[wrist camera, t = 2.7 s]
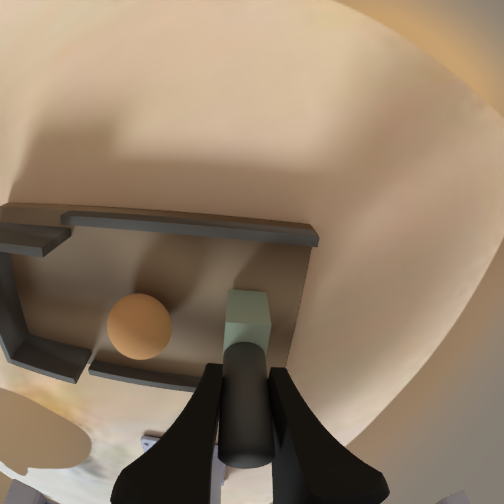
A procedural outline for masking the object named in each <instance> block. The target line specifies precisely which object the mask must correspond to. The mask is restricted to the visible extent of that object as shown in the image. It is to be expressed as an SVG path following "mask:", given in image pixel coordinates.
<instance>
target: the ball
mask: <svg viewBox="0 0 504 504" xmlns="http://www.w3.org/2000/svg"><path fill="white" fill-rule="evenodd" d="M107 331H108V335H109V338H110V340H111V342H112V344H113V345H114V347H115V348H116V349H117V350H118V351H119V352H120V353H122V354H123V355H125V356H127V357H129V358H132V359H137V360H144V359H149V358H152V357H155V356H156V355H158V354H160V353H161V352H162V351H163V350H164V349H165V347H166V346H167V344H168V343H169V340H170V338H171V333H172V323H171V319H170V316H169V313H168V311H167V310H166V308H165V307H164V306H163V304H162V303H161V302H159V301H158V300H157V299H155V298H153V297H151V296H149V295H146V294H139V293H137V294H130V295H127V296H125V297H123V298H121V299H120V300H118V301H117V302H116V303H115V304H114V305H113V307H112V308H111V310H110V312H109V315H108V319H107Z"/></svg>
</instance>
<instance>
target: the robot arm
mask: <svg viewBox="0 0 504 504" xmlns="http://www.w3.org/2000/svg"><path fill="white" fill-rule="evenodd" d="M222 375H223V364H216V363H208V364H206V366H205V370H204V373H203V375H202V378H201V380H200V382H199V384H198V386H197V388H196V390H195V392H194V393H193V395H192V397H191V399H190V400H189V402H188V403H187V405H186V407H185V408H184V410H183V411H182V413H181V414H180V415H179V417H178V418H177V419H176V421H175V422H174V423H173V424H172V426H171V427H170V428H169V429H168V430H167V431H166V432H165V434H164V435H163V436H162V437H161V438H155V437H149V436H142V437H141V443H142V446H143V450H144V454H143V455H142V456H140V457H139V458H138V459H136V460H135V461H134V462H132V463H131V464H130V465H128V466H127V467H125V468H124V469H123V470H122V471H121V473H120V475H119V476H118V478H117V480H116V482H115V484H114V487H113V490H112V494H111V498H110V502H111V504H221V486H223V485H224V478H225V469H226V465H225V464H223V463H222V462H221V461H220V460H219V459H218V445H215V441H216V434H217V428H218V422H219V416H220V399H221V389H222ZM268 385H269V395H270V404H271V414H272V424H273V434H274V443H275V453H276V456H275V459H274V460H273V461H272V479H273V504H380V503H381V502H382V501H384V500H385V499H386V498H387V497H388V495H389V493H390V491H389V488H388V485H387V483H386V480H385V478H384V476H383V474H382V473H381V472H379V471H378V470H376V469H374V468H372V467H371V466H369V465H368V464H366V463H364V462H363V461H362V460H360V459H359V458H357V457H356V456H355V455H353V454H352V453H351V452H350V451H349V450H347V449H346V448H345V447H344V446H343V445H342V444H340V443H339V442H338V441H337V440H336V439H335V438H334V437H333V436H332V435H331V434H330V433H329V432H328V431H327V429H326V428H325V427H324V426H323V425H322V424H321V423H320V421H319V420H318V419H317V418H316V416H315V415H314V414H313V412H312V411H311V410H310V408H309V407H308V405H307V404H306V402H305V401H304V399H303V398H302V396H301V395H300V393H299V391H298V390H297V388H296V386H295V384H294V383H293V381H292V379H291V377H290V375H289V373H288V371H287V369H286V368H285V367H271V368H270V373H269V377H268ZM4 504H58V503H56V502H54V501H51V500H49V499H47V498H46V497H45V496H44V495H43V494H42V493H41V492H39V491H38V490H36V489H34V488H32V487H30V486H28V485H26V484H24V483H22V482H20V481H18V480H16V479H13V481H12V483H11V486H10V488H9V490H8V493H7V496H6V498H5V501H4ZM436 504H470V502H469V500H468V498H467V496H466V493H465V491H464V490H461V491H458V492H456V493H454V494H452V495H449V496H447V497H445V498H443V499H441V500H440V501H439V502H437V503H436Z"/></svg>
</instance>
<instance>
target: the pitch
mask: <svg viewBox="0 0 504 504" xmlns="http://www.w3.org/2000/svg"><path fill="white" fill-rule="evenodd" d="M318 242H319V236H318V234H317V233H316V232H315V230H314V229H313V227H312V226H311V225H310V224H301V223H292V222H283V221H273V220H263V219H253V218H243V217H232V216H221V215H210V214H198V213H186V212H173V211H160V210H145V209H130V208H114V207H97V206H77V205H54V204H26V203H6V204H4V205H2V206H0V345H1V347H2V350H3V352H4V355H5V357H6V359H7V361H8V362H9V363H11V364H14V365H16V366H19V367H22V368H25V369H28V370H31V371H33V372H36V373H39V374H43V375H46V376H49V377H52V378H55V379H59V380H62V381H66V382H69V383H73V384H76V383H77V381H78V379H79V377H80V375H81V373H82V372H83V370H84V368H85V366H86V364H91V365H90V367H89V369H88V371H89V374H90V375H94V376H99V377H103V378H108V379H113V380H117V381H122V382H128V383H133V384H139V385H145V386H151V387H157V388H164V389H171V390H179V391H187V392H195V390H196V388H197V386H198V384H199V382H200V380H201V378H202V375H203V373H204V370H205V366H206V364H208V363H216V364H222V360H223V346H224V333H225V320H226V308H227V296H228V289H234V290H246V291H259V292H267V299H268V306H269V312H270V319H271V331H270V336H269V342H268V347H267V353H266V366H267V375H268V377H269V373H270V368H271V367H286V363H287V359H288V354H289V350H290V346H291V342H292V338H293V333H294V329H295V325H296V320H297V316H298V311H299V307H300V302H301V297H302V293H303V288H304V283H305V278H306V273H307V268H308V263H309V258H310V253H311V248H312V247H318ZM137 293H139V294H146V295H149V296H151V297H153V298H155V299H157V300H158V301H159V302H161V303H162V304H163V306H164V307H165V308H166V310H167V311H168V313H169V316H170V319H171V323H172V333H171V338H170V340H169V343H168V344H167V346H166V347H165V349H164V350H163V351H162V352H161V353H160V354H158V355H156V356H155V357H152V358H149V359H144V360H137V359H132V358H129V357H127V356H125V355H123V354H122V353H120V352H119V351H118V350H117V349H116V348H115V347H114V345H113V344H112V342H111V340H110V338H109V335H108V331H107V319H108V315H109V312H110V310H111V308H112V307H113V305H114V304H115V303H116V302H117V301H118V300H120V299H121V298H123V297H125V296H127V295H130V294H137Z"/></svg>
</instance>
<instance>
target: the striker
mask: <svg viewBox="0 0 504 504" xmlns="http://www.w3.org/2000/svg"><path fill="white" fill-rule="evenodd" d="M270 331H271V319H270V312H269V306H268V299H267V292H259V291H246V290H234V289H228V296H227V308H226V320H225V333H224V346H223V360H222V364H223V375H222V389H221V399H220V416H219V435H218V459H219V460H220V461H221V462H222V463H223V464H225V465H228V466H231V467H235V468H243V469H249V468H257V467H261V466H264V465H267V464H269V463H270V462H272V461H273V460H274V459H275V456H276V453H275V443H274V434H273V424H272V414H271V404H270V395H269V385H268V375H267V366H266V353H267V347H268V342H269V336H270Z"/></svg>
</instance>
